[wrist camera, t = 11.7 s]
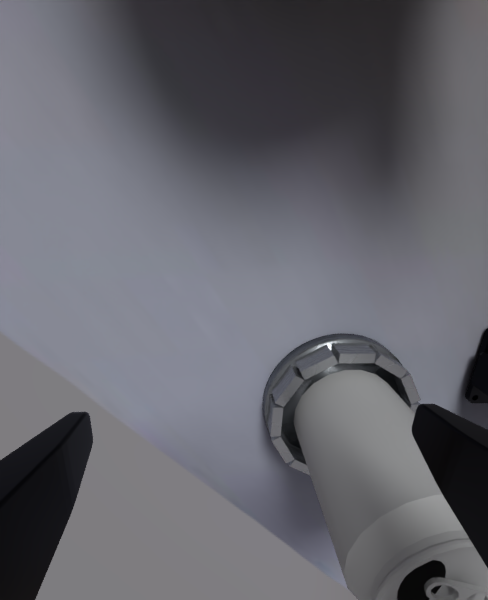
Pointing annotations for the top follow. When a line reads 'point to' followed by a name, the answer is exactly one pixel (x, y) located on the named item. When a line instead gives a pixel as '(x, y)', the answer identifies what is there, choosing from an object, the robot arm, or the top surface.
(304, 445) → the can
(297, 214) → the top surface
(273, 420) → the rosette plate
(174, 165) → the top surface
